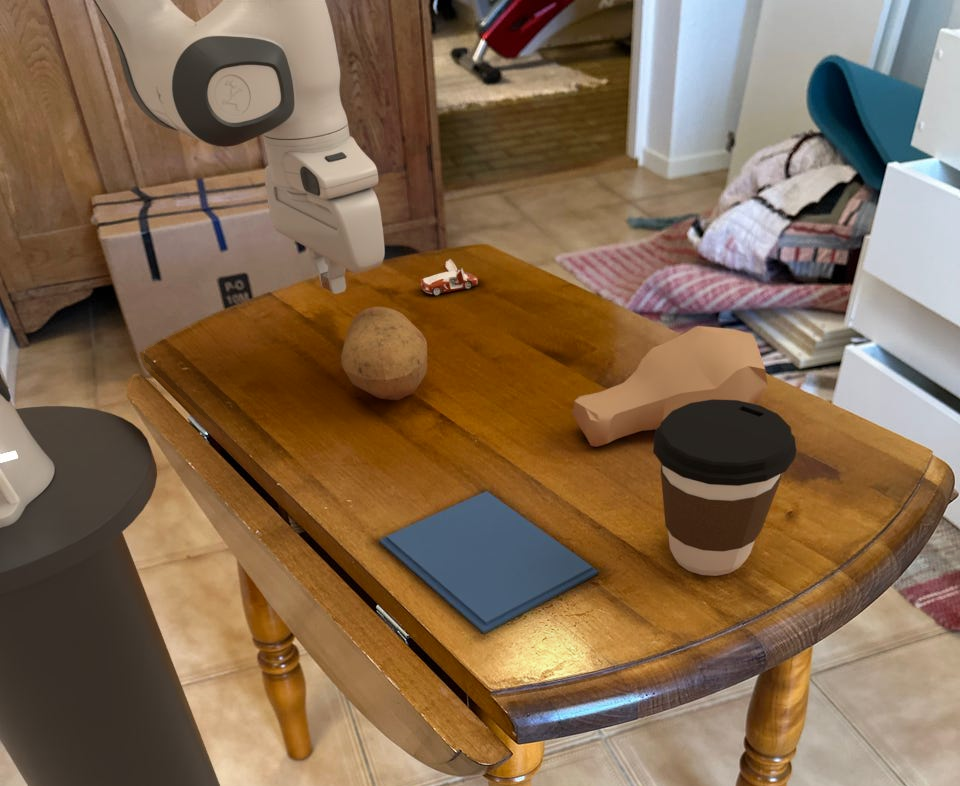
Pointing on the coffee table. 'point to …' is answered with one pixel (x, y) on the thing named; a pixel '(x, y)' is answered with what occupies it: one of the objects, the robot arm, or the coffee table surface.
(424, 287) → the toy car
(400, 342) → the potato
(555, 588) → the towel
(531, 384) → the coffee table surface
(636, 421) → the squash
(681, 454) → the coffee cup
